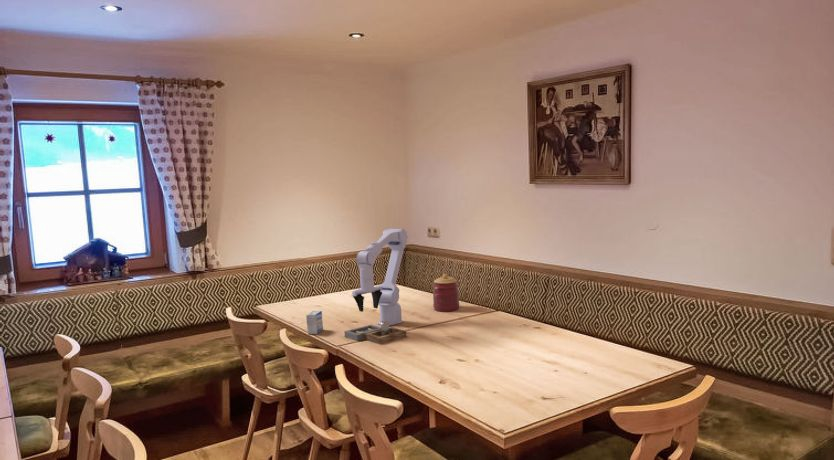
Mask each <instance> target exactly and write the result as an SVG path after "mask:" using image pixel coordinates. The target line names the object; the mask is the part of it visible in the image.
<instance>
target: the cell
mask: <svg viewBox="0 0 834 460" xmlns="http://www.w3.org/2000/svg"><path fill="white" fill-rule="evenodd" d="M380 327H381V336H384V335H388V334H390V329H389V328H390V326H389V321H382V322H381V325H380Z"/></svg>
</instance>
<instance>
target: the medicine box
mask: <svg viewBox="0 0 834 460" xmlns="http://www.w3.org/2000/svg"><path fill="white" fill-rule="evenodd" d="M305 317H306V319H305V320H306V330H307V334H308V335H318V334H319V333H320V332H321V331H323V330H324V324H323V322H324V321H323V311H322V310H313V311H311V312H310V313H307V314H306V315H305Z"/></svg>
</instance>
